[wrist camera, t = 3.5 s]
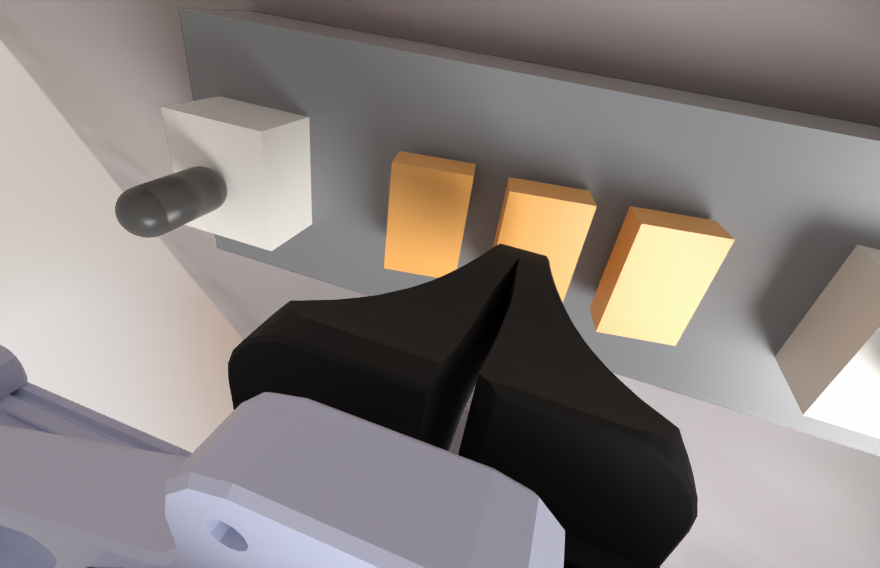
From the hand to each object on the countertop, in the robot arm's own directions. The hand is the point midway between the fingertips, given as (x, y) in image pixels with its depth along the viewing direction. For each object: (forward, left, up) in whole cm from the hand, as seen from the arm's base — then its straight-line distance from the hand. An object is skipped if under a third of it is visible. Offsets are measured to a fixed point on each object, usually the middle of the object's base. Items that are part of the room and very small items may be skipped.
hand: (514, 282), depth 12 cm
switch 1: (0, +3, -3) cm, 5 cm away
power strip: (0, 0, -7) cm, 7 cm away
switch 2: (0, -4, -3) cm, 5 cm away
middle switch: (0, 0, -3) cm, 3 cm away
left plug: (0, +10, -3) cm, 11 cm away
